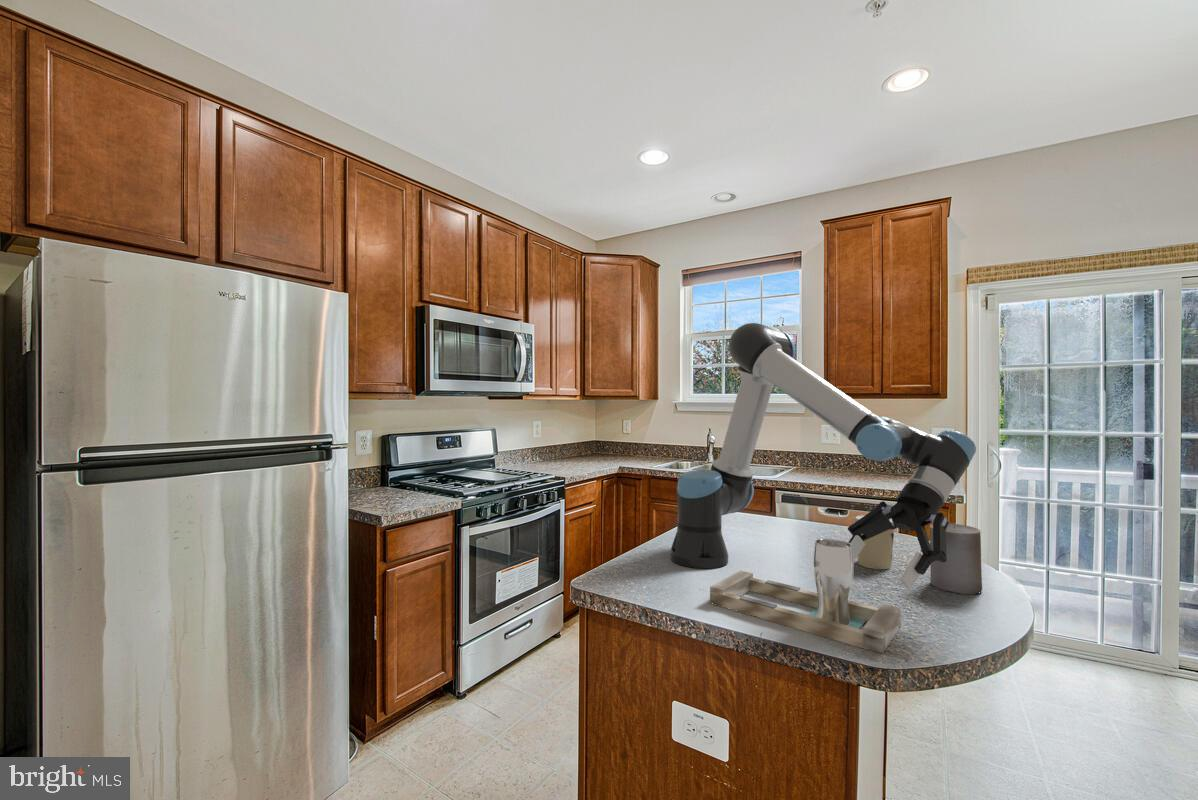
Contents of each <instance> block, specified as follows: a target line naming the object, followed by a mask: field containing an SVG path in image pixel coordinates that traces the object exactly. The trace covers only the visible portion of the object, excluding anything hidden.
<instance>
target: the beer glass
mask: <svg viewBox="0 0 1198 800" xmlns="http://www.w3.org/2000/svg"><path fill="white" fill-rule="evenodd" d="M812 556H813V559H812V560H813V561H812V565H813V576H814V577H813V578H814V582H815V587H816V593H817V595H818V608H817V613H816V617H818V618H822V619H825V620H829V621H833V622H836V623H840V624H844V625H848V626H851V620H850V615H849V601H850V597H851V592H852V586H853V580H854V571H855V567H854V566H855V563H854V562H855V560H854V561H853V549H852V544H851V543H849V541H845V540H841V539H837V538H836V539H835V538H818V539H815V540H814V547H813V555H812Z"/></svg>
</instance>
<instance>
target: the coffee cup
mask: <svg viewBox="0 0 1198 800" xmlns="http://www.w3.org/2000/svg"><path fill="white" fill-rule="evenodd" d="M864 516H865V515H857V516H855V518H854V521H853V522H854V523H855V522H856V521H858V520H859V519H861V518H862V517H864ZM889 520H890V522H891V523H893V521H892V518H891V519H889ZM861 535H863V534H861ZM894 537H895V529H893V530H892V529H889V530H887V531H885V532H882V533H880V534H878V535H876V536H874V537H871V538H869V539H867V540H865V541H863V542H864V543H865V545H864V547H863V548H862V550H861V551H860V553H859V554H858V556H857V557H856V559H857V563H858V565H859V566H862V567H864V568H869V569H872V570H873V569H874V570H889V569H891V568H892V564H893V563H892V562H893V551H894V550H893V549H894Z"/></svg>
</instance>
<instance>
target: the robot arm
mask: <svg viewBox="0 0 1198 800" xmlns="http://www.w3.org/2000/svg"><path fill="white" fill-rule="evenodd" d="M795 345H796V344H795V341H794V340H793V338H792V337H791V335H790V334H788V333H787V332H786V331H784V330H782V329H780V328H777V327H773V326H768V325H764V324H762V323H759V322H757V323H756V322H749V323H745V324H743V325H740V326H739V327H738V328H736V329H735V330H734V331H733V333H732V334H731V336H730V338H729V342H728V351H729V355H730V357H731V359H732V360H733V361H734V362H735V363H736V364H737V365H739V367H738V371H737V372H738V374H739V375H740V377H741V381H740V384H739V387H738V391H737V394H736V397H735V398H736V399H735V401H734V405H733V409H732V412H731V416H730V420H729V423H728V426H727V430H726V433H725V437H724V439H723V443H722V444H723V445H722V448H721V451H720V456H719V457H718V458H717V459H715V460H713V461H712V463H711V466H710V469H697V470H689V471H686V472H683V473H681V474H680V475H679V477H678V478H677V486H676V492H677V493H676V495H677V502H676V503H677V504H676V505H677V507H676V509H677V511H676V512H677V520H676V521H677V522H676V525H677V527H676V528H677V529H676V533H675V536H674V539H673V540H672V541H673V542H672V544H671V548H670V560H671V561H672V562H673V563H675V564H676V565H680V566H683V567H687V568H696V569H715V568H716V569H717V568H721V566H722V567H725V566H726V565H728V563H729V553H728V549H727V546H726V543H725V542H726V541H725V540H724V536H723V532H722V519H723V518H722V516H726V515H729V514H735V513H738V512H740V511H742V510H743V509H745V508H747V507H748V506H749V505H750V504H751V502H752V500H753V498H754V493H755V488H754V484H753V482H752V481H753V480H752V479H753V476H754V473H753V471H752V469H751V468H750V466H751V462H752V459H753V455H754V452H755V449H756V446H757V441H758V439H759V435H760V432H761V430H762V429H761V428H762V425H763V422H764V420H765V419H764V418H765V414H766V413H767V408H768V405H769V401H770V398H771V394H772V391H773V388H774V386H775V387H776V388H778V389H779V390H780V391H782V393H784V394H786V395H787V396H789V398H791V399H793V400H794V401H795V402H797V403H798V404H799V405H801V406H803V408H805V409H807V410H808V411H809V412H810V413H812V414H813V415H814V416H816V417H817V418H818V419H820V420H821V421H823V422H824V423H825V424H827V425H828V426H830V428H832V429H833V430H835V431H836V432H838V434H841V435H842V436H843V437H844V438H846V439H847V440H849V441H850V442H851V443H853V444H854V445H855V446H856V449H857V450H858V451H859V453H860V455H862V456H863V457H865V458H866V459H868V460H871V461H876V462H885V461H890V460H892V459H895V458H899V459H900V460H903V461H905V462H907V463H910V464H912V465H915V466H917V467H916V468H915V470H914V472H913V473H912V475H910V477H909V479H908V480H907V483H906V484H905V485H904V487H903V488H902V490H901V491H900V492H899V494H898V496H897V502H896V503H895V504H894V505H889V504H887V503H886V502H885V501H881V502H879V503H878V504H877V506H876V507H875V508H874V509H872V510H871V511H870V512H867V514H865V515H863V516H864V517H862V518H861V519H859V520H858V521H856V522H854V523H852V524H851V525H849V526H848V527H847V530H848V532H849V534H851V535H852V536H851V537H850V539H849V541H848V542H849V543H851V544H852V549H853V561H854V562H855V561H856V559H857V556H858V554H859V553H860V551H861V550H862V548H863V547H864V545H865V543H864V542H863V541H865V540H867V539H869V538H871V537H874V536H876V535H878V534H880V533H882V532H885V531H887V530H889V529H892V530H893V529H894V530H896V529H899V530H905V531H908V532H911V533H913V532H915V535H916V538H917V541H918V545H919V547H920V552H916V553H914V555H913V556H912V559H911V560H910V562H909V563H908V565H907V566H906V568H905V570H904V571H903V573H902V575H901V576H900V578H899V581H900V582H901V583H902V584H903V586H904V587H905V588H906V589H907V590H910V591H911V590H912V589H913V587H914V585H915V584H916V582H917V580H918V579H919V577H920V575H922V576H923V575H925V574H926V573H927V571H928V569H929V567H930V564H931V563H932V562H934V561H940V562H946V560H947V554H946V528H947V526H948V524H950V522H949V520H948V519H947V518H946V516H945V515H944V513H943V512H940V511H941V509H942V508H943V506H944V503H945V502H947V499H948V498H949V496H950V494H951V493H952V492H953V490H954V488H955V487H956V485H957V484H958V482H959V480H961V477H963V474H965V472H966V470H967V468H968V467H969V466H970V464H971V462H972V460H973V457H974V456H975V454H976V452H977V446H976V444H975V442H974V441H973V440H972V439H971V438H970V437H969V436H968V435H966V434H965V433H962V432H960V431H958V430H957V431H956V430H954V431H952V430H948V429H947V430H943V431H941V432H940V433H939V434H938V435H934V434H930V433H929V432H925V431H924V430H923V431H922V430H920V429H917V428H915V427H913V426H910V425H908V424H905V423H902V422H901V421H898V420H897V419H892V418H889V417H886V416H882V415H881V416H878V415H877V414H875V413H873V412H872V411H871V410H869V409H868V408H867V407H865V406H864V405H862V404H860V403H859V402H858V401H856V400H855V399H853V398H852V397H851V396H849V395H847V394H846V393H844V392H843V391H842V390H840V389H838V388H837V387H835V386H834V385H833V384H831V383H830V382H828V381H827V380H825V379H824V378H822V377H821V376H820V375H818V374H816V373H815V372H814V371H812V370H811V369H809V368H807V367H806V366H804V365H803V364H801V362H798V360H796V359H795V358H796V346H795ZM889 519H891V520H892V521H893V523H891V522H890V520H889ZM931 524H933V551H932V548H931V545H930V539H929V537H928V532H927V530H926V526H929V525H931ZM861 534H863V535H861ZM724 565H725V566H724Z"/></svg>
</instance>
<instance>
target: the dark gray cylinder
mask: <svg viewBox="0 0 1198 800" xmlns="http://www.w3.org/2000/svg"><path fill="white" fill-rule="evenodd" d="M981 538H982V537H981V530H980V529H979V528H976V527H974V526H969V525H964V524H959V523H958V524H957V522H956V521H955V522H954V523H949V524H948V526H947V528H946V554H947V560H946V562H940V561H934V562H932V563H931V564H930V566H929V567H930V585H932V586H933V587H934V586H935V587H934V588H936V587H937V588H936V589H939V590H941V589H942V590H941V591H945V592H951V593H956V594H959V593H960V595H968V594H971V595H977V594H976V593H978V594H980V593H979V592H981V593H982V591H983V578H982V541H981V540H982V539H981ZM929 543H930V545H931V548H932V551H933V523H930V524H929Z"/></svg>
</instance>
